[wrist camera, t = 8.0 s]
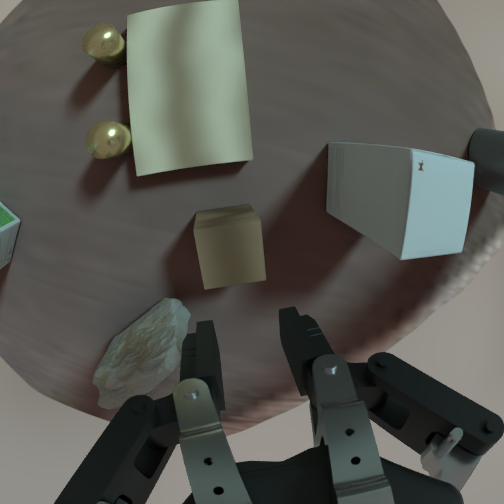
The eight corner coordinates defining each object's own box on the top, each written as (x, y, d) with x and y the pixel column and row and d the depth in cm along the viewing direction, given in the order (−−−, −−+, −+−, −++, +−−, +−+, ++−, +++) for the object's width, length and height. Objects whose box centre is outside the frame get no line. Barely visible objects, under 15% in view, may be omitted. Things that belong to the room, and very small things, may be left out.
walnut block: (249, 204, 26) (260, 220, 20) (254, 252, 28) (266, 280, 22) (196, 211, 25) (193, 230, 20) (205, 260, 27) (204, 289, 22)
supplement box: (323, 213, 27) (397, 263, 16) (327, 140, 25) (411, 144, 13) (382, 213, 28) (463, 255, 17) (387, 147, 26) (477, 161, 14)
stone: (175, 283, 28) (163, 346, 19) (206, 318, 30) (208, 386, 21) (94, 337, 29) (69, 396, 20) (124, 365, 31) (108, 425, 22)
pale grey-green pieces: (235, 10, 19) (237, -1, 16) (248, 158, 25) (253, 159, 23) (133, 24, 18) (127, 15, 15) (143, 173, 24) (137, 176, 21)
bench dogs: (130, 38, 18) (115, 18, 13) (139, 152, 22) (123, 153, 18) (102, 46, 18) (82, 30, 13) (110, 159, 22) (89, 163, 18)
